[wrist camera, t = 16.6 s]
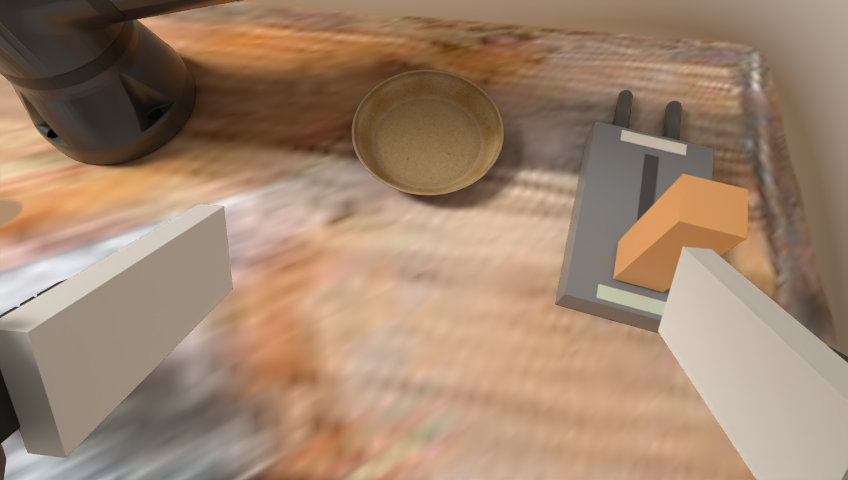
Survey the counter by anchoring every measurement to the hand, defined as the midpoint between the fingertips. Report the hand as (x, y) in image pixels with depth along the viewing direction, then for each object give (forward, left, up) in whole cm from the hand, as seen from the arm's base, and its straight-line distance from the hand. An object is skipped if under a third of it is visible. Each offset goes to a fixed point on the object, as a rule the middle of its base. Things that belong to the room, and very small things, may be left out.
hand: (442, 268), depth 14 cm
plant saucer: (-23, +5, -27) cm, 36 cm away
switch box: (-12, +23, -27) cm, 37 cm away
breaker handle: (-5, +19, -23) cm, 30 cm away
